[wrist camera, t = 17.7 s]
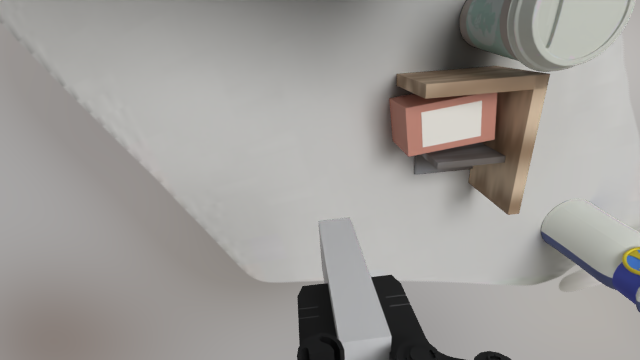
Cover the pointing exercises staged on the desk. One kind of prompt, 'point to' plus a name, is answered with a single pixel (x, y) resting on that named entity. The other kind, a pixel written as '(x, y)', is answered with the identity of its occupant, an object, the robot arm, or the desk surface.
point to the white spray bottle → (596, 244)
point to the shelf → (510, 128)
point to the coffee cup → (544, 29)
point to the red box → (441, 121)
